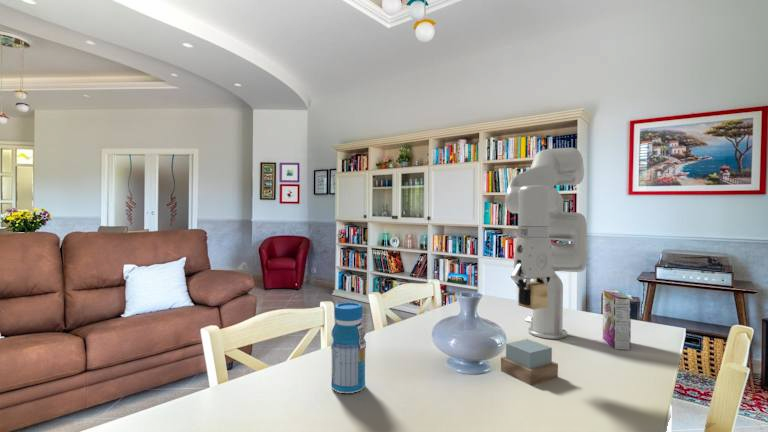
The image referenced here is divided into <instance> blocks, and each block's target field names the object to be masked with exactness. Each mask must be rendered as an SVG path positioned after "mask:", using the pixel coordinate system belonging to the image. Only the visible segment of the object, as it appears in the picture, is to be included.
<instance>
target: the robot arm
mask: <svg viewBox="0 0 768 432" xmlns="http://www.w3.org/2000/svg"><path fill="white" fill-rule="evenodd" d="M529 167H530V168H529V169H526V170H524V172H521V173H519V174H518V175H516V176H514V177H513V178H511V180H510V182H509V184H508V187H507V189H506V192H505V196H504V204H505V207H506V210H508V212H509V213H513V214H517V217H518V218H517V222H518V223H517V231H516V233H517V239H516V241H515V246H514V248H515V250H514V259H513V271H512V273H511V275H510V279H511V280H512V281H514V283H515V284H516V285H517V286H516V287H517V288H519V303H520V304H524V305H527V306H529V305H530V291H531V290H529V285H530V281H534V282H539V283H544V284H547V307H546V308H540V309H534V310H533V309H532V312H533V313H532V315H528V316H527V318H525V320H524V321H525V323H527V324H528V323H529V324H530V326H528V329H527V330H528V333H529V334H531V335H532V336H534V337H538V338H542V339H550V340H557V339H558V340H559V339H564V338H565V339H566V338H567V337H568V331H567V330H565V329H564V328H563V326H564V325H563V323H564V321H563V320H564V319H563V315H564V314H563V313H564V312H563V310H564V284H563V282H562V279H561V278H560V276H558V275H557V273H556V272H566V273H567V272H569V273H581V272H583V271H585V269H586V268H587V263H588V262H587V261H588V226H587V219H586V217H585V215H584V214H582V213H580V212H565V211H564V198H563V196H562V195H561V192H559V191H558V190H557V188H556V187H555V186H575V185H576V186H577V185H579V184H581V183H582V182H583V179H584V177H585V166H584V159H583V155H582V153H581V152H580V150H578V149H577V148H575V147H560V148H559V147H558V148H557V147H556V148H546V149H542V150H540V151H538V152H537V153H535V155H534V157H533V159H532V163H531V166H529ZM552 240H561V241H570V242H572V243H564V242H563V243H561V242H552ZM524 280H525V281H524ZM524 282H525V283H524Z"/></svg>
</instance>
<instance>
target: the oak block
mask: <svg viewBox="0 0 768 432" xmlns="http://www.w3.org/2000/svg"><path fill="white" fill-rule="evenodd" d="M524 283H525V281H524ZM517 288H518V287H517ZM529 290H531V291H530V305H529V306H527V305H524V304H520V303H519V288H518V293H517V294H518V297H517V298H518V299H517V300H518V301H517V303H518V306H519V307H523V308H526V309H530V310H532V311H533V310H534V309H540V308H546V307H547V284H544V283H539V282H534V280H530V285H529Z"/></svg>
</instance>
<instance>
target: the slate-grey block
mask: <svg viewBox="0 0 768 432" xmlns="http://www.w3.org/2000/svg"><path fill="white" fill-rule="evenodd" d="M552 355H553V348H552V347H550V346H548V345H545V344H542V343H540V342H537V341H534V340H531V339H528V338H527V339H521V340H517V341H514V342H513V341H512V342H507V343H505V357H506V359H508V360H510V361H513V362H515V363H517V364H520V365H522V366H524V367H527V368H529V369H532V368H535V367H539V366H543V365H546V364H550V363H552V362H553V360H552V359H553V356H552Z"/></svg>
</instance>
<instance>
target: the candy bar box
mask: <svg viewBox="0 0 768 432" xmlns="http://www.w3.org/2000/svg"><path fill="white" fill-rule="evenodd" d="M631 300H632V298H631V297H629V296H627V295H626V294H625V293H624V294H623V293H622V292H621V291H619V290H611V289H610V290H608V289H607V290H606V289H605V290H602V339H603V340H604V341H605V342H606V343H607V344H608V345H610V347H611V348H612V349H613V350H616V351H631V337H632V336H631V334H632V333H631V328H632V327H631V326H632V325H631V323H632V320H631V319H632V318H631V316H632V313H631V312H632V311H631V307H632V306H631V304H632V301H631Z"/></svg>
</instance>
